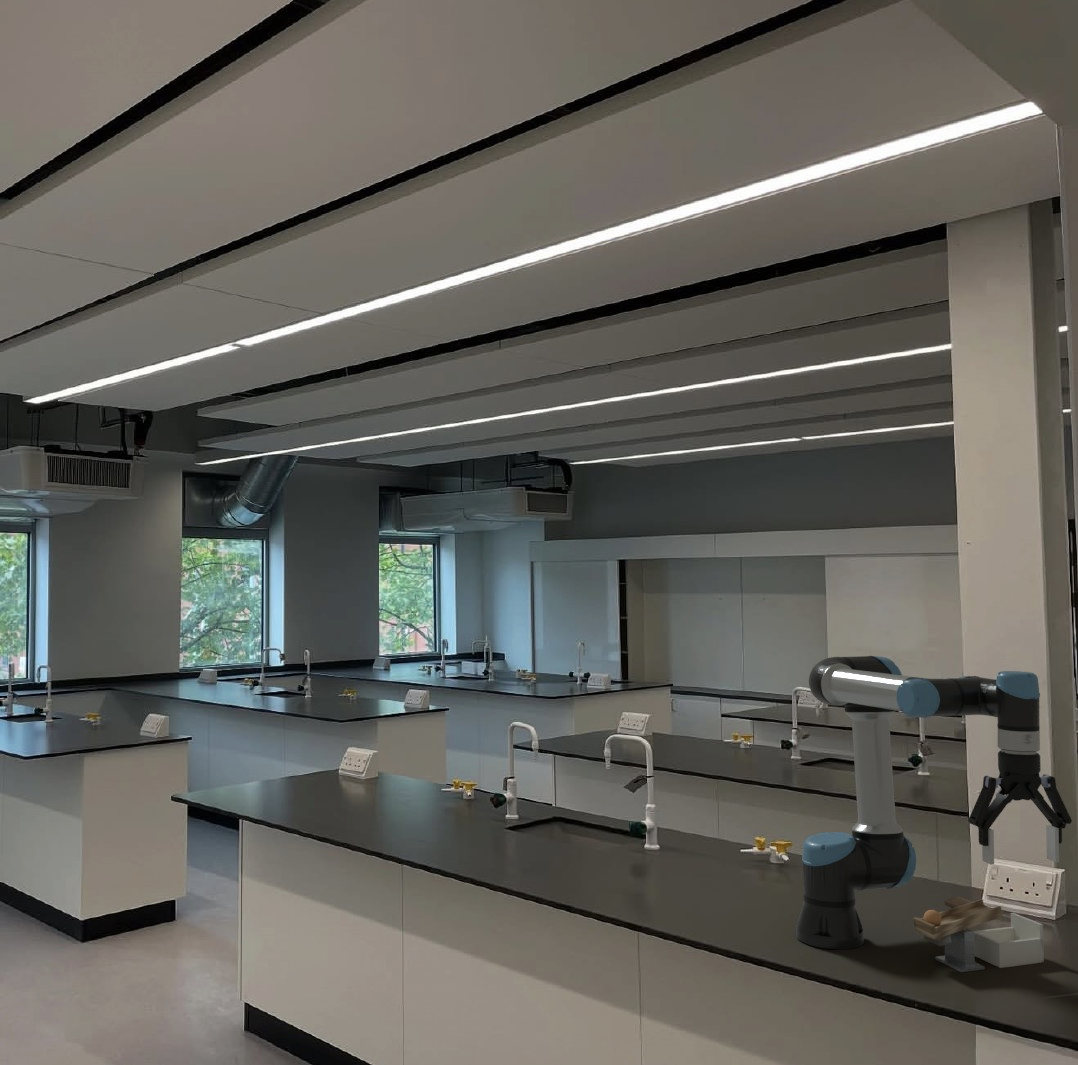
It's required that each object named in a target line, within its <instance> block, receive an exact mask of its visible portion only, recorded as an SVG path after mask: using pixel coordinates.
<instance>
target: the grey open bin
mask: <svg viewBox="0 0 1078 1065" xmlns="http://www.w3.org/2000/svg"><path fill="white" fill-rule="evenodd" d="M973 931H974V953H975V957H976V958H978V959H980V960H983V961H984V962H987V963H989V964H990V965H992V966H995V967H997V968H1000V969H1003V968H1010V967H1017V966H1018V967H1019V966H1026V965H1033V964H1034V965H1035V964H1041V963H1045V955H1044V954H1045V953H1044V951H1045V950H1044V924H1043V923H1040V922H1039V921H1035V920H1033V919H1031V918H1028V917H1026V916H1025V917H1024V916H1022V915H1019V914H1017V913H1015V912H1010V926H1007V927H997V928H988V929H987V928H986V929H980V930H979V929H978V930H973Z"/></svg>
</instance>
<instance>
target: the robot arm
mask: <svg viewBox="0 0 1078 1065" xmlns="http://www.w3.org/2000/svg"><path fill="white" fill-rule="evenodd" d="M1039 684H1040V683H1039V678H1038V676H1037V674H1035V673H1034V672H1030V671H1021V670H1020V671H1019V670H1018V671H1017V670H1002V671H999V672H997V674H996V679H993V678H988V677H987V678H986V677H980V676H978V675H977V676H976V675H971V676H970V675H965V676H964V675H963V676H960V677H957V678H926V677H918V676H910V675H909V676H908V675H903V674H902V671H901V670H900V668H899V667H898V666H897V665H896V664H895V662H894V661H893V660H892V659H890V658H888V657H886V656H878V655H876V656H875V655H868V656H867V655H865V656H864V655H863V656H829V657H827V658H824V659H822V660H820V661H819V662H817V663H816V664H815V665H814V666H813V668H812V669H811V671H810V673H809V675H808V686H809V690H810V692H811V694H812V695H813V696H814V698H815V699H817V700H818V701H819V702H820V703H823V704H826V705H827V706H835V707H836V706H839V707H840V706H841V707H844V714H846V716H847V717H849V718H850V720H851V723H852V724H851V725H852V726H851V727H852V728H851V729H852V730H851V731H852V743H853V744H852V746H853V759H854V760H853V761H854V775H855V778H854V779H855V792H856V793H855V794H856V807H857V808H856V810H857V822H856V823H855V824H854V825H853V826H852V828H851V834H850V833H847V832H844V831H843V832H842V831H834V832H831V831H827V832H819V833H815V834H812V835H810V836H808V837H806V839H805V840H804V841H803V845H802V856H801V860H802V878H803V879H802V882H803V883H802V884H803V885H802V886H803V888H802V890H803V891H802V892H803V896H802V897H803V903H802V907H801V910H800V913H799V917H798V920H797V923H796V925H795V929H796V930H795V936H796V938H797V940H799V941H800V942H802V943H804V944H807V945H808V946H811V947H812V946H813V947H816V948H821V949H829V950H849V949H856V948H859V947H861V946H862V945H863V944H864V943H865V932H864V927H863V925H862V922H861V919H860V916H859V913H858V909H857V906H856V892H858V891H859V892H860V891H866V890H867V891H868V890H880V889H887V890H889V889H893V888H896V887H903V886H905V885H907V884H908V883H909V882H910V880H911V879H913V876H914V874H915V871H916V867H917V854H916V850H915V847H913V842H912V841H911V840H910V839H909V838H908V837H907V836H906V835H904V829H903V828H902V827H901V826H900V825H899V824H898V823H897V817H896V816H897V815H896V805H895V790H894V789H895V788H894V773H893V760H892V759H893V758H892V756H893V755H892V745H891V729H890V728H891V727H890V726H891V725H890V719H891V718H892V716H894V715H895V714H896V711H897V712H898V711H899V712H902V713H903V714H904V715H906V716H907V717H911V718H921V719H922V718H925V719H926V718H929V717H945V716H946V717H947V716H949V717H950V716H951V717H953V716H988V717H995V718H997V726H996V727H997V748H998V749H999V751H998V753H997V766H998V767H997V769H998V771H999V774H998V777H992V776H989V775H984V776H983V781H982V788H981V791H979V792H980V793H979V795H978V797H977V799H976V802H975V804H974V806H973V809H972V811H971V813H970V815H969V818H968V820H967V821H968V823H969V824H971V825H973V826H975V827H976V828H978V843H979V845H981V848H982V849H981V850H982V851H981V852H982V854H981V855H982V856H981V857H982V861H983V862H984V863H987V864H989V865H995V839H994V838H995V837H994V836H995V834H994V833H995V832H994V831H995V830H994V829H992V828H991V827H992V825H993V824H994V822H996V820H997V818H998V817H999V816H1000V815H1001V813H1002V812H1003V810H1004V809H1005V808H1006V806H1007V805H1008V804H1010V803H1011V802H1012V801H1022V800H1024V801H1031V802H1033V804H1034V805H1035V807H1037V809H1038V810H1039V811H1040V812H1041V814H1042V815H1043V816H1044V818H1045V819H1046V820H1047V821H1048V823H1050V824H1046V825H1045V830H1046V832H1045V835H1046V838H1045V839H1046V859H1047V860H1048V861H1049V860H1050V861H1052V862H1054V863H1060V845H1061V844H1062V842H1063V830H1062V829H1065V828H1066V827H1067V824H1068V825H1070V824H1071V823H1072V821H1073V820H1072V818H1071V816H1070V814H1069V812H1068V810H1067V808H1066V805H1065V803H1064V801H1063V800H1062V797H1061V794H1060V792H1059V791H1058V788H1057V782H1056V778H1055V776H1052V775H1048V774H1043V775H1041V776H1040V772H1041V771H1042V770H1041V755H1040V753H1038V752H1039V751H1041V735H1040V732H1041V730H1040V727H1041V726H1040V724H1041V723H1040V697H1041V693H1040V686H1039ZM1041 786H1042V787H1043V790H1044V793H1045V794H1046V797H1047V799H1048V800H1049V803H1050V805H1051V806H1050V805H1049V803H1048V802H1047V801H1046V800H1045V798H1044V796H1043V795H1042V793H1041V792H1040V791H1039V788H1040V787H1041ZM999 787H1000V788H999ZM998 788H999V790H998V791H997V792H996V790H997V789H998ZM995 793H996V794H995ZM994 795H995V797H994ZM993 797H994V798H993Z"/></svg>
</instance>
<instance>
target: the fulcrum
mask: <svg viewBox="0 0 1078 1065" xmlns="http://www.w3.org/2000/svg"><path fill="white" fill-rule="evenodd" d="M974 931H975V930H972V929H971V928H967V929H964V930H961V931H958V932H955V933H952V934H950V936H951V943H948V944H945V945H944V955H938V956H935V961H938V962H940V963H942V964H944V965H945V966H948V967H950V968H952V969H954V970H955V971H958V972H960V973H965V972H975V971H981V970H982V971H983V970H985V965H982V964H980V963H978V962H976V961H975V959H976V958H975V957H976V956H975V953H974Z"/></svg>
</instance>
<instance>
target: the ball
mask: <svg viewBox="0 0 1078 1065" xmlns="http://www.w3.org/2000/svg"><path fill="white" fill-rule="evenodd" d="M922 918H923V919H924V921H927V922H929V923H931V924H933V925H935V927H937V926H939V925H940V924H941V916H940V914H939V912H938V911H937V910H935V909H929V910H927V911H925V912H924V915H923V917H922Z"/></svg>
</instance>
